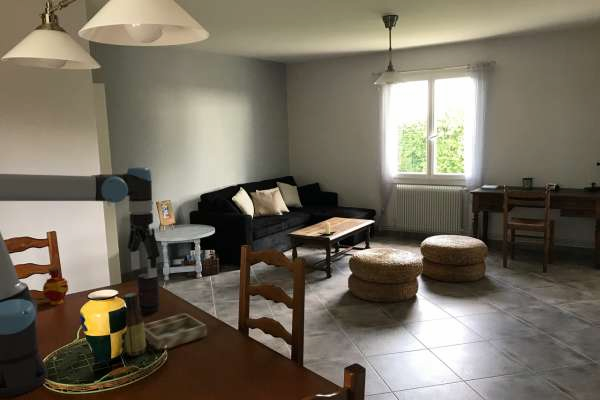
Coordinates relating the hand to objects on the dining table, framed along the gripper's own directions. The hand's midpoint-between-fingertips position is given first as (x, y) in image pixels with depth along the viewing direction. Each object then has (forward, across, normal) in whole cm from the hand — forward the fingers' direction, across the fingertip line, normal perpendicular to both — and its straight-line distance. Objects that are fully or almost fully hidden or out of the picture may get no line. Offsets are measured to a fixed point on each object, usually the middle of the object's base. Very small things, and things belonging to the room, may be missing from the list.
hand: (144, 273), depth 162 cm
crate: (+23, -6, -7) cm, 25 cm away
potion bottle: (+24, +63, +12) cm, 69 cm away
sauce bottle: (+24, -9, +8) cm, 27 cm away
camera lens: (+24, +24, -12) cm, 36 cm away
